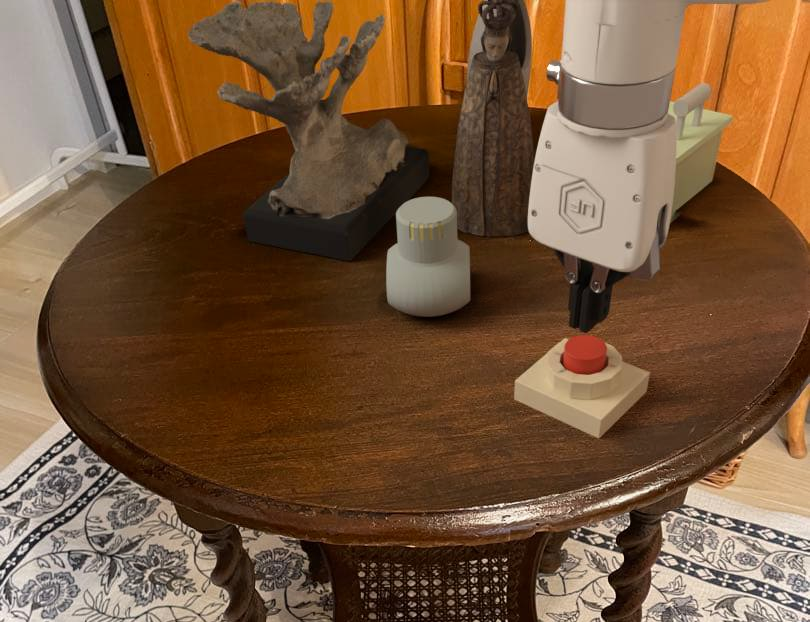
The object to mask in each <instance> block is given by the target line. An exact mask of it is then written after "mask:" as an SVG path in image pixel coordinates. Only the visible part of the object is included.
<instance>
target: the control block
mask: <svg viewBox="0 0 810 622" xmlns="http://www.w3.org/2000/svg"><path fill="white" fill-rule="evenodd" d="M569 339H570V338H567V337H565V338H563V339H562V340H561V341H559V342H557V343H556V344H555V345H554V346H553V347H552V348H550V349H549V350H548V351H547V352H546V353H545V355H543V356H542V357H541V358H540V359H538V360H536V362H535V363H534V364H533V365H531V366H530V367H529V368H528V369H527V370H525V371H524V372H523V373H522V374H521V375H520V376H519V377H517V378H516V379H515V380H514V393H513V394H514V396H513V400H515V401H516V402H519V403H521V404H523V405H525V406H528V407H529V408H532V409H534V410H536V411H539V412H540V413H543V414H545V415H547V416H549V417H551V418H554V419H555V420H558V421H560V422H562V423H563V424H566V425H569V426H570V427H573V428H575V429H577V430H579V431H581V432H583V433H586V434H588V435H590V436H592V437H595V438H597V439H600V438H601V437H602V436H603V435H604V434H605V433H606V432H608V430H609V429H610V428H611V427H613V425H614V424H615V423H617V422H618V420H620V418H622V417H623V416H624V415H625V414H626V413H627V412H628V411H629V410H630V409H631V408H632V407H633V406H634V405H635V404H636V403H637V402H638V401H639V400H640V399H641V398H642V397H643V396H644V395H645V394H646V393H647V391H648V385H649V380H650V376H651V375H650V374H651V372H650V371H647V370H645V369H642V368H640V367H638V366H635V365H633V364H630V363H628V362H625V361H623V355H622V354H621V353H620V352H619V351H618V350H617V349H616V347H614V345H611V344H609V343H607V342H605V344H606V346H607V352H606V359H605V366H604V368H603V369H602V370H601V371H600V372H599V373H595V374H591V375H582V374H575V373H573V372H570V371H568V370H567V369H566V368H565V367H564V364H563V358H564V347H565V344H566V342H567V341H568V340H569Z"/></svg>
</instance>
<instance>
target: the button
mask: <svg viewBox="0 0 810 622" xmlns="http://www.w3.org/2000/svg"><path fill="white" fill-rule="evenodd" d="M568 339H569V340H568V341H567V342H566V344H565V347H564V358H563V364H564V367H565V368H566V369H567V370H568V371H570V372H573V373H575V374H582V375H591V374H595V373H599V372H600V371H601V370H602V369H603V368H604V366H605V359H606V352H607V346H606V344H605V343H606V342H605V341H604V340H602V339H601V338H599V337H597V336H594V335H591V334H580V335H576V336H573V337H570V338H568Z"/></svg>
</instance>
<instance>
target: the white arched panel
mask: <svg viewBox="0 0 810 622" xmlns="http://www.w3.org/2000/svg"><path fill="white" fill-rule="evenodd" d="M485 1H488V0H485ZM514 1H516V2H517V4H518V7H517V8H518V9H517V12H516V14H515V18H514V20H513V22H512V23H511V25H510V26H509V33H510V34H511V37H512V42H511V45H510V48H509V51H512V52H515V53H517V55H518V58H519V62H520V66H521V70H522V74H523V79H524V84H525V91H526V95H527V96H528V95H529V88H530V81H531V79H530V78H531V71H532V58H533V57H532V56H533V37H532V35H533V34H532V28H531V21H530V20H531V19H530V15H529V12H528V9H527V5H526V1H525V0H514ZM508 5H510V6H511V7H513V9H514V5H511V4H508ZM487 6H488V5H483V6H482V10H484V9H485V8H486V7H487ZM493 12H494V16H495V17H497V12H496V9H493ZM488 15H489V13H488V14H487V19H489V16H488ZM510 15H511V14H510V12H509V11H508V10H507V11H506V16H505V19H508V18H509V17H510ZM484 30H485V24H484V22H483V20H482V17H481V16H480V14H479V13H478V16H477V19H476V22H475V25H474V29H473V33H472V37H471V40H470V41H471V42H470V46H469V52H468V60H467V69H466V81H465V82H466V83H465V85H466V84H467V80H468V76H469V71H470V68H471V64H472V59H473V57H474V55H475V54H477V53H480V52H483V49H482V44H481V37H482V34H483V32H484Z"/></svg>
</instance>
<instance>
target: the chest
mask: <svg viewBox="0 0 810 622" xmlns="http://www.w3.org/2000/svg"><path fill="white" fill-rule="evenodd" d="M723 131H724V129H723V130H721V131H720V132H719V133H718V134H716V135H715V136H714V137H712V138H711V139H710V140H708V141H707V142H706V143H705V144H703V145H702V146H701V147H699V148H698V149H697V150H695V151H694V152H693V153H691V154H690V155H689V156H688V157H686V158H685V159H684V160H682V161H681V162H680V163H678V164H677V165H676V173H675V186H674V196H673V205H672V212H671V219H670V224H671V223H673V222H674V221H675V220H676V219H677V218H679V217H680V216H681V215H682V214H683V213H681V212H678V211H677V210H678V209H680V208H681V207H683V205H684V204H686V203H687V202H688V201H690V200H691V199H692V198H693V197H695V196H696V195H697V194H698V193H700V192H701V191H702V190H703V189H704V188H706V187H707V186H708V185H709V184H711V183H712V181H713V180H714V174H715V170H716V165H717V160H718V155H719V150H720V145H721V141H722V138H723V137H722V136H723Z"/></svg>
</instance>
